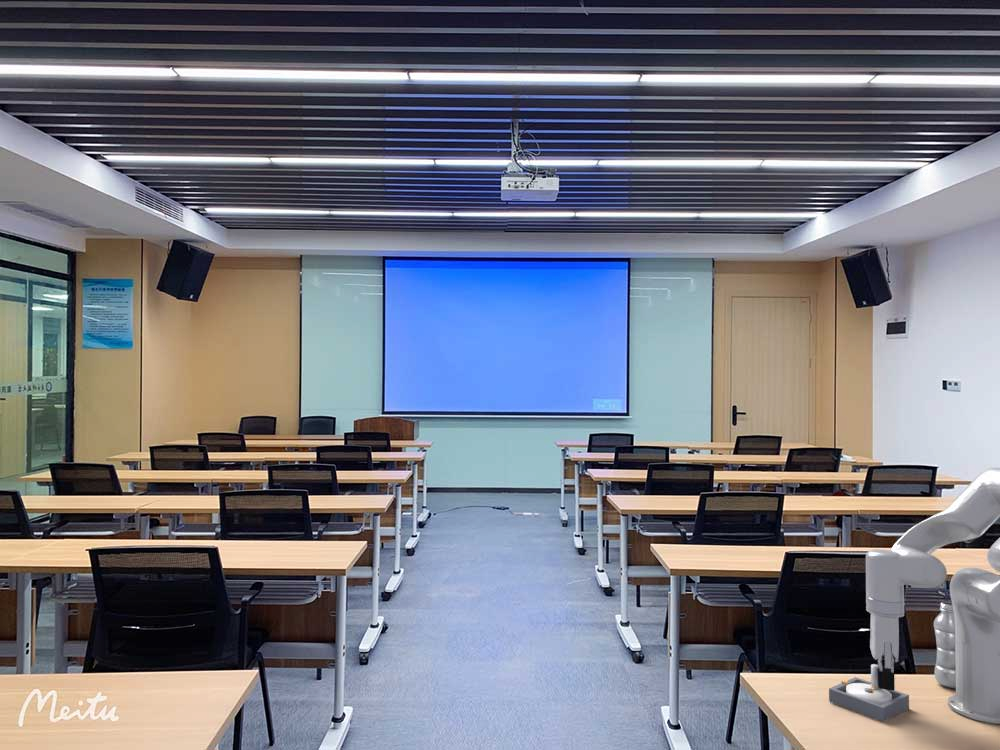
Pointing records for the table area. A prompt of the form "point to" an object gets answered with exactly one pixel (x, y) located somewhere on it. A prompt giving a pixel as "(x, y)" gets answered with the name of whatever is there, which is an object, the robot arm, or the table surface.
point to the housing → (866, 707)
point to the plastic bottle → (945, 646)
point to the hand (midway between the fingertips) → (886, 688)
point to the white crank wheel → (870, 689)
